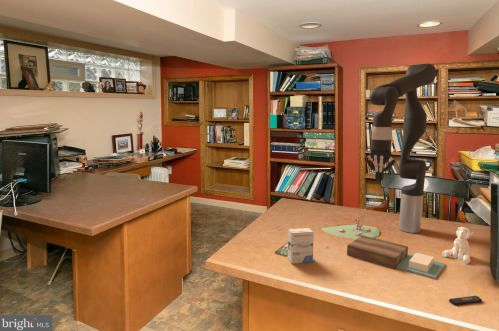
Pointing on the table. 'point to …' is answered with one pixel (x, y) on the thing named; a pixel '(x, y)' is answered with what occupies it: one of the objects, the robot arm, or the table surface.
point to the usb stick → (465, 300)
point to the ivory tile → (421, 262)
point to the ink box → (300, 245)
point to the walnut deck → (377, 251)
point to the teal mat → (432, 272)
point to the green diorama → (353, 230)
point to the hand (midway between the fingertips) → (379, 180)
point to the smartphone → (283, 250)
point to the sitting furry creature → (460, 246)
